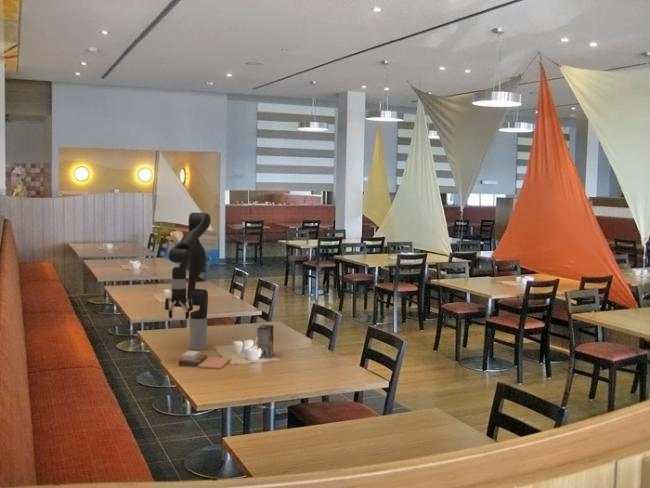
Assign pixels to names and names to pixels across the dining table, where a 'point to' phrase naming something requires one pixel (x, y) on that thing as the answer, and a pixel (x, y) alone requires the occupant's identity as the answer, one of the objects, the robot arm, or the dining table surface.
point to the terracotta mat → (214, 363)
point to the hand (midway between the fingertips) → (178, 318)
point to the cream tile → (190, 355)
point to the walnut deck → (193, 361)
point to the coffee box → (265, 340)
